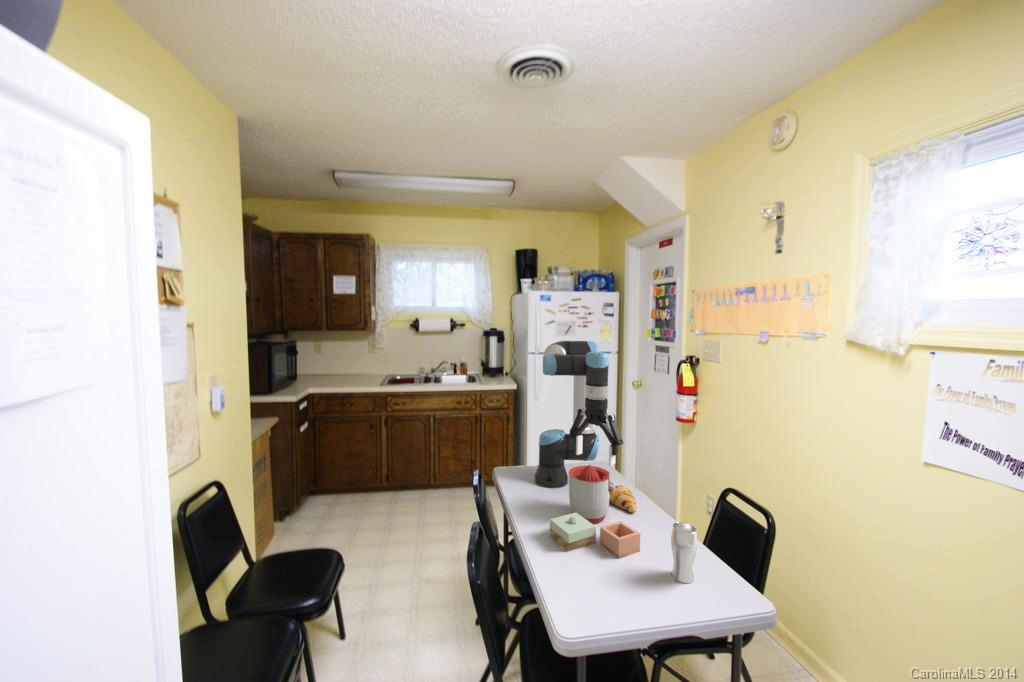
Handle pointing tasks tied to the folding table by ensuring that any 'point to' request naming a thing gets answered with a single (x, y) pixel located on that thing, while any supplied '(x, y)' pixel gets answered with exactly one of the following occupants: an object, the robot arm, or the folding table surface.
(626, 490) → the croissant
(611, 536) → the open box
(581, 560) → the folding table surface
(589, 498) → the citrus juicer
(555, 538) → the wooden block
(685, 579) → the beer glass
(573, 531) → the lid
